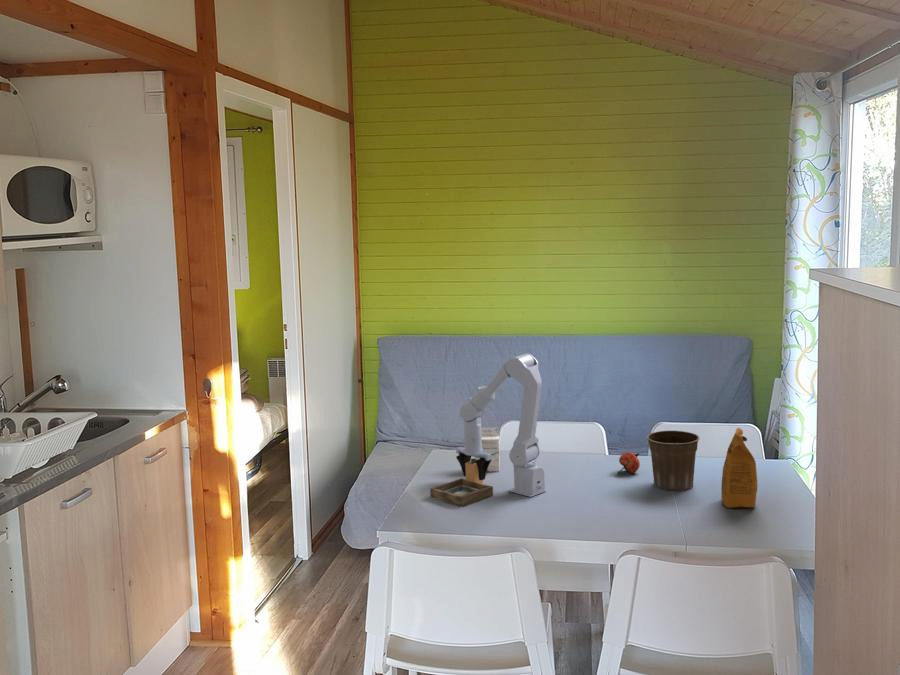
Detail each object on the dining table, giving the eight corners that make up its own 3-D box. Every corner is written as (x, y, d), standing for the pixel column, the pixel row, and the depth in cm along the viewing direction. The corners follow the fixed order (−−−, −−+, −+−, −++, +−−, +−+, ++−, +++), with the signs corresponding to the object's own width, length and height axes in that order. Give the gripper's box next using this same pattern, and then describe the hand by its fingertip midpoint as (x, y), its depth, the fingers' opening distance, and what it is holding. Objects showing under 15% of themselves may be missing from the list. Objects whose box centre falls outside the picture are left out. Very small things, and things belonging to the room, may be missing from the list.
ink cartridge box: (475, 471, 297) (473, 430, 295) (476, 467, 302) (474, 427, 300) (499, 471, 296) (498, 430, 294) (500, 467, 301) (499, 427, 299)
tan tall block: (483, 482, 284) (482, 458, 283) (474, 485, 281) (473, 461, 280) (474, 480, 287) (473, 456, 286) (466, 483, 284) (465, 459, 283)
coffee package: (755, 497, 258) (755, 426, 256) (758, 511, 247) (758, 437, 244) (720, 496, 261) (720, 425, 258) (722, 509, 249) (722, 436, 246)
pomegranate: (625, 483, 285) (648, 464, 284) (611, 466, 285) (634, 447, 284) (621, 479, 292) (644, 460, 292) (608, 462, 292) (630, 444, 292)
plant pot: (679, 496, 262) (679, 445, 260) (636, 485, 274) (636, 437, 272) (709, 485, 272) (709, 436, 270) (667, 475, 284) (667, 428, 282)
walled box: (493, 495, 270) (492, 486, 270) (461, 506, 260) (461, 497, 260) (461, 487, 280) (461, 478, 280) (430, 497, 270) (430, 488, 270)
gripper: (497, 438, 280) (498, 478, 281) (465, 432, 290) (467, 470, 292) (482, 443, 275) (483, 483, 277) (451, 436, 285) (452, 475, 287)
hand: (474, 477), depth 284 cm, fingers open, 7 cm apart
